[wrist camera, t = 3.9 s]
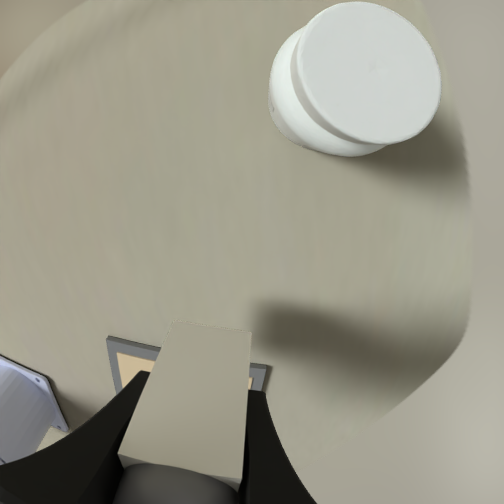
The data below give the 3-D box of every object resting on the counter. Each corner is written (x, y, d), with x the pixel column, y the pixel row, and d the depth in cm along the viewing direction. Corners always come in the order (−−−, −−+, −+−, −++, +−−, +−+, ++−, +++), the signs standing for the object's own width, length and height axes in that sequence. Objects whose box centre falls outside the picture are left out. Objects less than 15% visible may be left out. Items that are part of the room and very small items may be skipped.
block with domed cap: (172, 375, 13) (123, 527, 6) (171, 316, 12) (96, 492, 5) (244, 387, 13) (230, 548, 6) (254, 330, 12) (243, 524, 5)
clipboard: (134, 453, 23) (131, 462, 22) (108, 335, 17) (100, 346, 16) (238, 473, 23) (237, 483, 22) (266, 365, 18) (266, 378, 16)
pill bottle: (381, 113, 12) (486, 103, 5) (311, 169, 13) (364, 207, 6) (320, 41, 11) (373, -41, 4) (247, 96, 12) (227, 48, 5)
